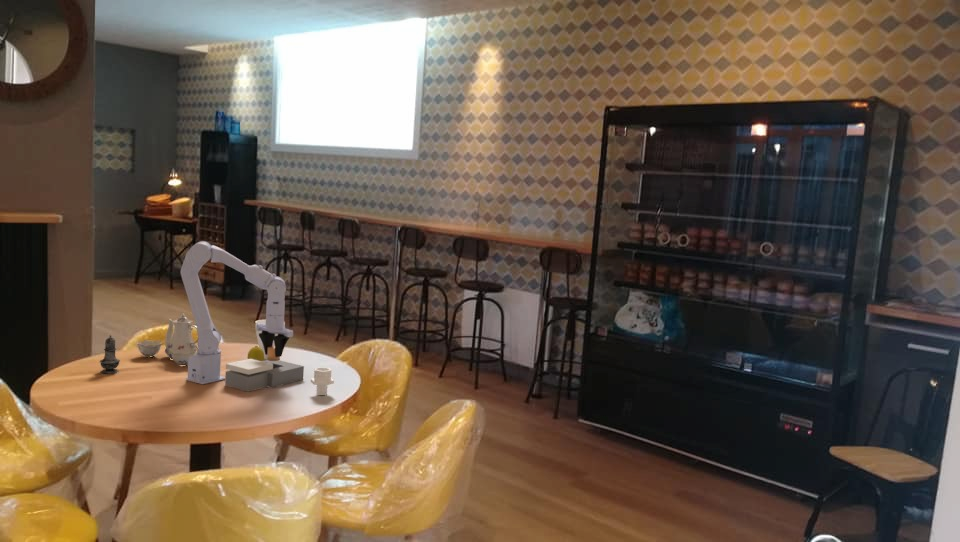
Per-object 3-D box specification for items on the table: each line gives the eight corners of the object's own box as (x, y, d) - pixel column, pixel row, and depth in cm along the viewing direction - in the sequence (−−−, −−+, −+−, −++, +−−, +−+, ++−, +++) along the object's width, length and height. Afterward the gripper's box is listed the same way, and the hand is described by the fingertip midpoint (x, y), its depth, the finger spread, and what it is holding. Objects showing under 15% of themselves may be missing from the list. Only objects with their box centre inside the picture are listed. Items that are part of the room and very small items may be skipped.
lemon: (260, 371, 241) (261, 348, 240) (244, 369, 241) (245, 346, 240) (265, 367, 247) (266, 344, 246) (250, 366, 247) (251, 343, 246)
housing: (252, 392, 216) (253, 378, 215) (220, 384, 222) (221, 370, 222) (303, 379, 235) (303, 366, 234) (272, 371, 241) (272, 358, 241)
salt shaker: (123, 370, 229) (124, 334, 228) (112, 374, 223) (113, 337, 222) (106, 368, 230) (107, 332, 229) (95, 373, 224) (95, 335, 223)
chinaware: (126, 362, 246) (123, 315, 243) (164, 349, 261) (162, 305, 258) (187, 375, 235) (184, 327, 232) (223, 361, 250) (221, 316, 247)
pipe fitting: (337, 394, 221) (338, 369, 220) (320, 398, 215) (322, 373, 214) (322, 390, 224) (323, 365, 223) (305, 394, 218) (307, 369, 217)
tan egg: (282, 359, 232) (282, 347, 232) (273, 361, 229) (273, 349, 228) (273, 357, 234) (274, 345, 234) (264, 359, 231) (264, 347, 230)
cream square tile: (248, 374, 216) (248, 369, 216) (225, 368, 221) (226, 363, 221) (272, 369, 225) (273, 364, 225) (250, 363, 229) (250, 358, 229)
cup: (247, 358, 256) (249, 322, 255) (264, 353, 266) (266, 318, 265) (272, 362, 253) (274, 325, 252) (288, 357, 263) (290, 321, 262)
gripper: (300, 316, 230) (298, 357, 231) (268, 310, 237) (266, 349, 238) (284, 318, 224) (283, 360, 225) (252, 312, 231) (250, 353, 232)
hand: (273, 355), depth 231 cm, fingers closed on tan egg, 4 cm apart
